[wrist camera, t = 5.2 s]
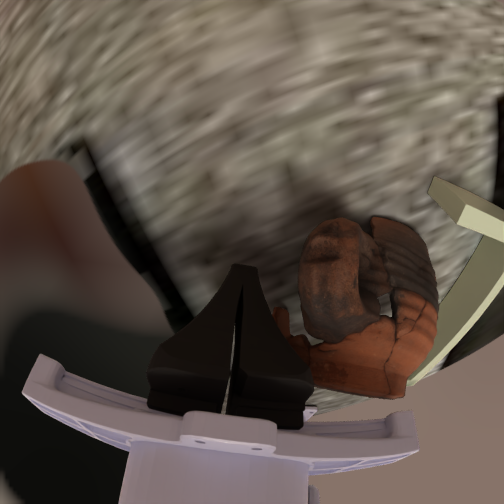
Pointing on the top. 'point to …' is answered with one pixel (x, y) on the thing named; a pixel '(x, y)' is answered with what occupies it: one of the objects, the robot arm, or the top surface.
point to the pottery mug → (364, 307)
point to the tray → (466, 269)
